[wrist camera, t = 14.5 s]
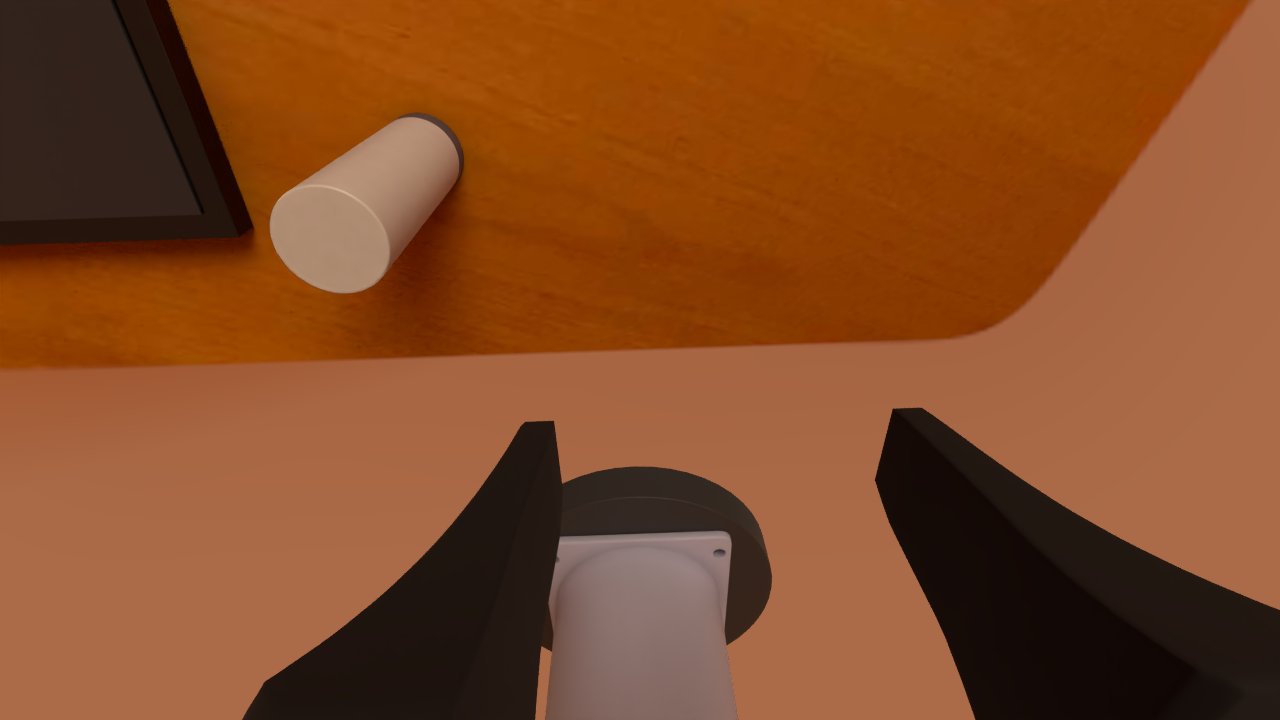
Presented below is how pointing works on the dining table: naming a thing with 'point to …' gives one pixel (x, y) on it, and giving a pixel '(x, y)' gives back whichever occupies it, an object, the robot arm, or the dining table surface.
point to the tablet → (106, 128)
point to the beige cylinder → (366, 204)
